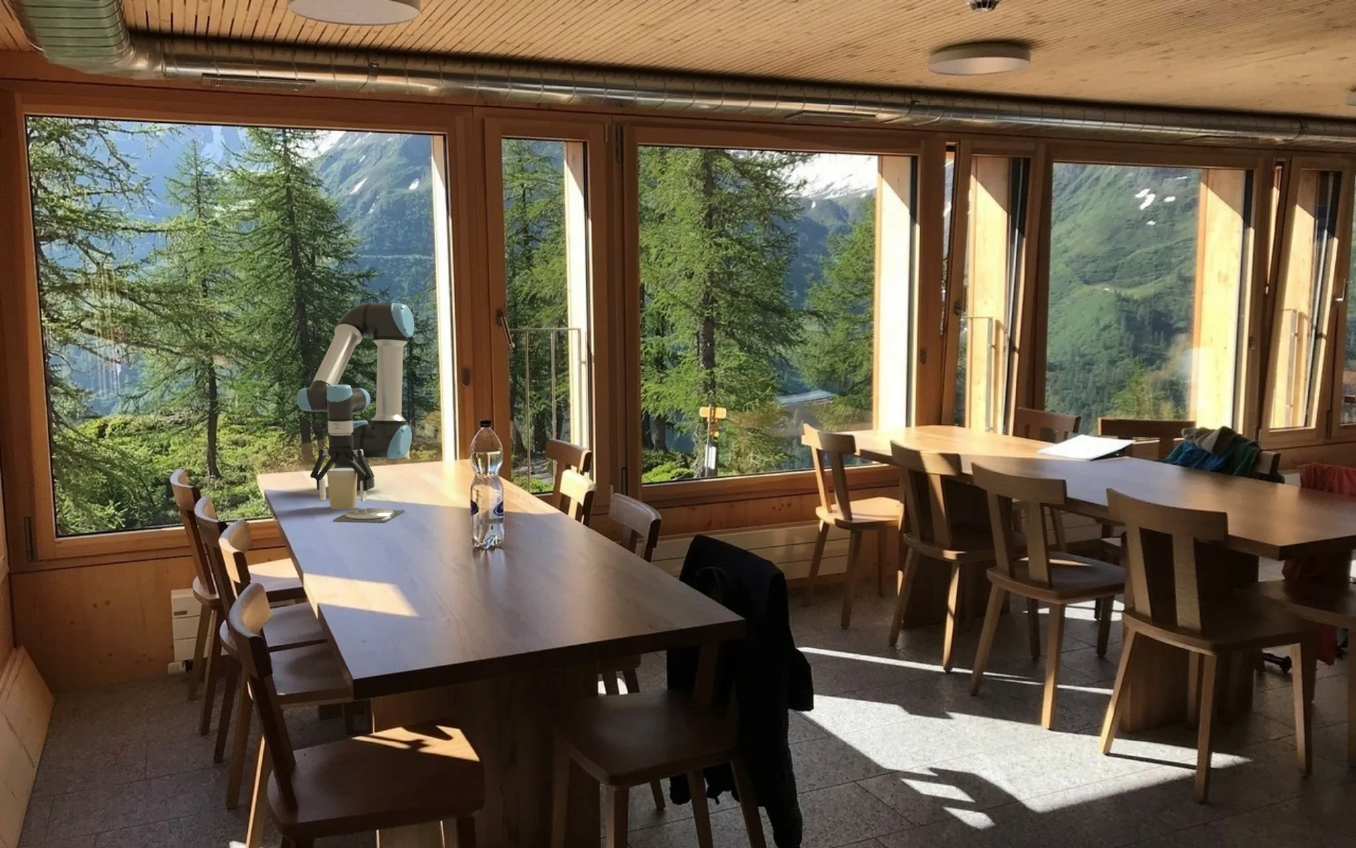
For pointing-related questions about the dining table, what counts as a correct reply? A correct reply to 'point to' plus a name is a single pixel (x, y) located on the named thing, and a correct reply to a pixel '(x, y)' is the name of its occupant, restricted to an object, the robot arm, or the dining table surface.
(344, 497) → the coffee cup
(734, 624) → the dining table surface
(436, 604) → the dining table surface
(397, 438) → the robot arm
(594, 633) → the dining table surface
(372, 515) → the flange plate
